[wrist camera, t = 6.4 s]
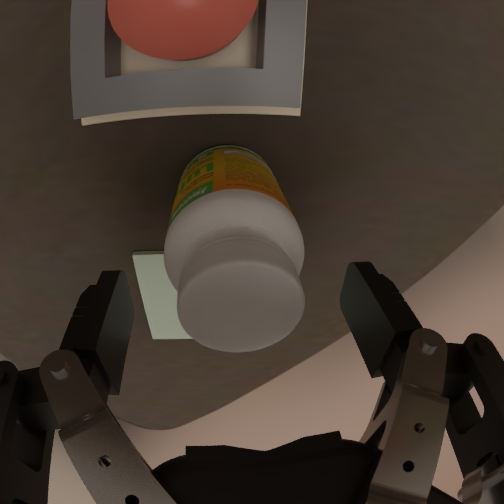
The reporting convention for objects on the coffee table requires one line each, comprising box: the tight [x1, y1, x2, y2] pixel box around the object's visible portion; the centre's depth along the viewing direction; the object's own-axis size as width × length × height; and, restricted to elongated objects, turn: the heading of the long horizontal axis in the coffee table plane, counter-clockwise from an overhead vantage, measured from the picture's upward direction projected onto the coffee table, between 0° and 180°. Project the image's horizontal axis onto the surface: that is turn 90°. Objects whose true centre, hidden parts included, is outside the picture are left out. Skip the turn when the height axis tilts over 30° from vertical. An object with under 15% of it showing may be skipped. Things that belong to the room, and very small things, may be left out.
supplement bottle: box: [164, 145, 305, 352], centre depth 13 cm, size 5×5×10 cm
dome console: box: [70, 0, 307, 126], centre depth 10 cm, size 11×11×4 cm
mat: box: [132, 251, 193, 339], centre depth 21 cm, size 8×8×1 cm
